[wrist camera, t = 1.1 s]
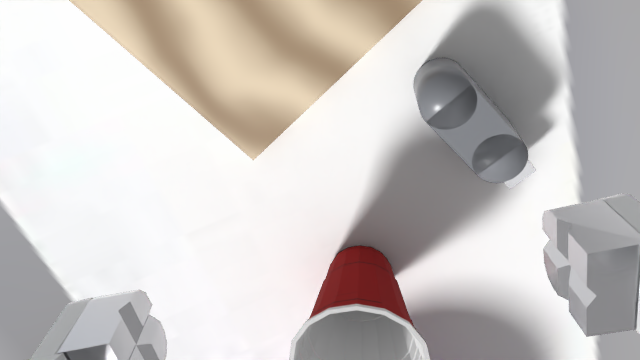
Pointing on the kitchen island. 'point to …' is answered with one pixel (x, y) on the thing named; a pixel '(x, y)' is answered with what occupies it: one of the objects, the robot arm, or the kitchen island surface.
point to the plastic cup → (359, 314)
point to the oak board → (248, 53)
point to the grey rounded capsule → (470, 123)
